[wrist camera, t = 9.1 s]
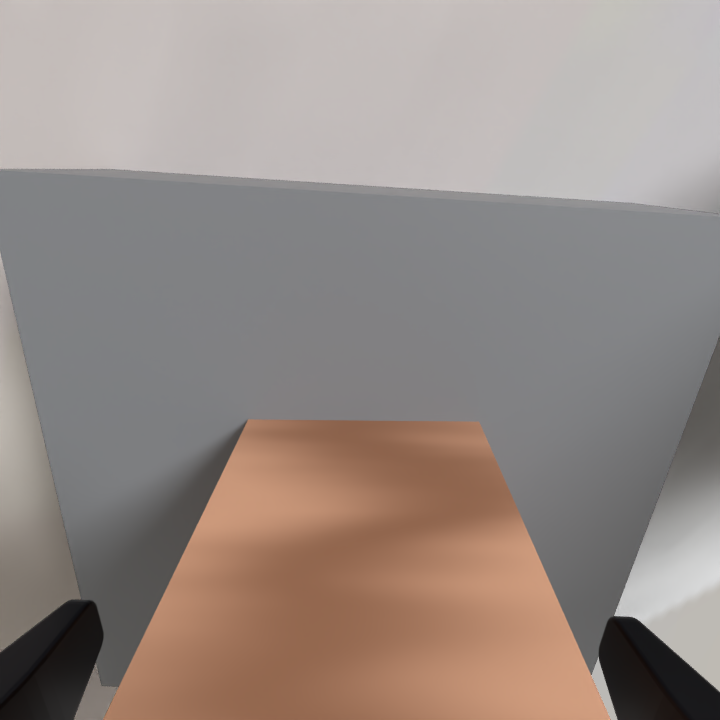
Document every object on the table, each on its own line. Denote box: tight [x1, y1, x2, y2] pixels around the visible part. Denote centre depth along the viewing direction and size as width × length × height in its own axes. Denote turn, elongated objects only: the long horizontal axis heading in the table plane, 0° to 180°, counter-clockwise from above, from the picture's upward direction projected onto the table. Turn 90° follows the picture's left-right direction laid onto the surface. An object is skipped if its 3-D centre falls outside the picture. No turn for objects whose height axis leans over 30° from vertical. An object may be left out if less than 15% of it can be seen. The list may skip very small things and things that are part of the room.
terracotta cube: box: [103, 419, 610, 720], centre depth 8 cm, size 5×5×6 cm
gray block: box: [0, 169, 720, 687], centre depth 13 cm, size 14×14×5 cm
